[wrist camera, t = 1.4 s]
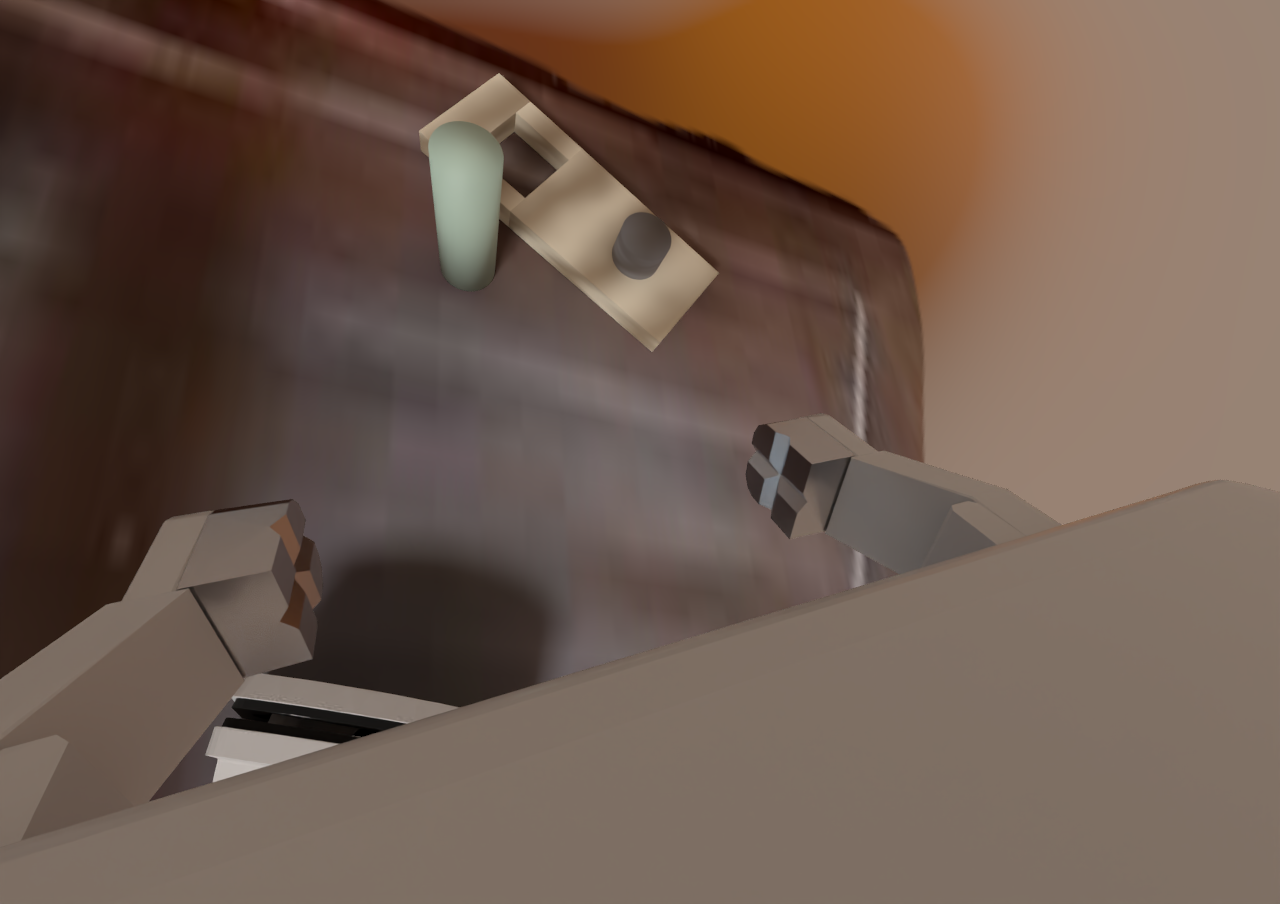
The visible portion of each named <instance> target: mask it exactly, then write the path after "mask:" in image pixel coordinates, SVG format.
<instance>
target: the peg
mask: <svg viewBox="0 0 1280 904" xmlns="http://www.w3.org/2000/svg"><path fill="white" fill-rule="evenodd" d="M428 150H429V160H430V170H431V179H432V189H433V199H434V208H435V218H436V228H437V237H438V247H439V257H440V266H441V271H442V274H443V276H444V278H445V279H446V280H447V281H448V282H449V283H450V284H451V285H452V286H454V287H456V288H458V289H460V290H464V291H478V290H481V289H483V288H485V287H487V286H488V285H489V284H490V283H491V281H492V280H493V278H494V275H495V264H496V251H497V239H498V226H499V213H500V201H501V188H502V175H503V162H504V156H503V151H502V148H501V146H500V144H499V142H498V141H497V140H496V138H495V137H494V136H493V135H492V134H491V133H490V132H488V131H487V130H486V129H484V128H482V127H480V126H479V125H476V124H473V123H470V122H465V121H453V122H448V123H445V124H443V125H441V126H439V127H438V128H437V129H435V130H434V132H433V133H432V135H431V136H430V139H429V143H428Z"/></svg>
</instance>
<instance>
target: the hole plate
mask: <svg viewBox="0 0 1280 904" xmlns="http://www.w3.org/2000/svg"><path fill="white" fill-rule="evenodd" d="M453 121H465V122H470V123H473V124H476V125H479V126H480V127H482V128H484V129H486V130H487V131H488V132H490V133H491V134H492V135H493V136H494V137H495V138H496V140H497V141H498V142H499V143H501V142H502V141H503V140H505V139H506V138H507V137H508V136H510V135H511V134H512V133H513V132H515V133H516V134H517V135H518V136H520V137H521V138H522V139H523V140H524V141H525V142H526V143H527V144H529V145H530V146H531V147H532V148H533V149H534V150H535V151H536V152H537V153H539V154H540V155H541V156H542V157H543V158H544V159H545V160H546V161H547V162H549V163H550V164H551V165H552V166H553V167H554V168H555V169H556V170H557V171H556V172H555V173H554V174H552V175H551V176H550V177H549V178H548V179H547V180H545V181H544V182H543V183H542V184H541V185H540V186H539V187H537V188H536V189H535V190H534V191H533V192H532V193H531V194H529V195H528V196H527V197H526V198H524V197H523V196H522V195H521V194H520V193H519V192H517V191H516V190H515V189H514V188H513V187H512V186H511V185H509V184H508V183H507V182H506V181H505V180H504V179H503V178H502V188H501V201H500V213H499V219H500V220H501V221H502V222H503V223H504V224H506V225H507V226H508V227H509V228H510V229H511V230H513V231H514V232H515V233H516V234H517V235H518V236H519V237H521V238H522V239H523V240H524V241H525V242H526V243H527V244H529V245H530V246H531V247H532V248H533V249H534V250H535V251H537V252H538V253H539V254H540V255H541V256H542V257H543V258H545V259H546V260H547V261H548V262H549V263H550V264H552V265H553V266H554V267H555V268H556V269H557V270H558V271H560V272H561V273H562V274H563V275H564V276H565V277H566V278H568V279H569V280H570V281H571V282H572V283H573V284H574V285H576V286H577V287H578V288H579V289H580V290H581V291H582V292H584V293H585V294H586V295H587V296H588V297H589V298H590V299H592V300H593V301H594V302H595V303H596V304H597V305H599V306H600V307H601V308H602V309H603V310H604V311H605V312H607V313H608V314H609V315H610V316H611V317H612V318H613V319H615V320H616V321H617V322H618V323H619V324H620V325H621V326H623V327H624V328H625V329H626V330H627V331H628V332H629V333H631V334H632V335H633V336H634V337H635V338H636V339H638V340H639V341H640V342H641V343H642V344H643V345H644V346H646V347H647V348H648V349H649V350H650V351H651V352H653V350H654V349H655V348H656V347H657V346H658V344H659V343H660V342H661V341H662V340H663V339H664V337H665V336H666V335H667V334H668V333H669V331H670V330H671V329H672V328H673V327H674V326H675V324H676V323H677V322H678V321H679V320H680V318H681V317H682V316H683V315H684V314H685V313H686V311H687V310H688V309H689V308H690V307H691V305H692V304H693V303H694V302H695V301H696V299H697V298H698V297H699V296H700V295H701V294H702V292H703V291H704V290H705V289H706V288H707V286H708V285H709V284H710V283H711V282H712V280H713V279H714V278H715V277H716V276H717V275H718V272H717V271H716V270H715V269H714V268H713V267H712V266H711V265H710V264H709V263H707V262H706V261H705V260H704V259H703V258H702V257H701V256H700V255H699V254H698V253H696V252H695V251H694V250H693V249H692V248H691V247H690V246H689V245H688V244H687V243H685V242H684V241H683V240H682V239H681V238H680V237H679V236H678V235H677V234H675V233H674V232H673V231H672V230H671V229H670V228H669V227H668V226H667V225H666V224H665V223H664V222H663V221H662V220H661V219H659V218H658V217H657V216H656V215H655V214H653V213H652V212H651V211H650V210H649V209H648V208H647V207H646V206H645V205H644V204H642V203H641V202H640V201H639V200H638V199H637V198H636V197H635V196H634V195H633V194H631V193H630V192H629V191H628V190H627V189H626V188H625V187H624V186H623V185H622V184H620V183H619V182H618V181H617V180H616V179H615V178H614V177H613V176H612V175H611V174H609V173H608V172H607V171H606V170H605V169H604V168H603V167H602V166H601V165H600V164H598V163H597V162H596V161H595V160H594V159H593V158H592V157H591V156H590V155H589V154H587V153H586V152H585V151H584V150H583V149H582V148H581V147H580V146H579V145H578V144H576V143H575V142H574V141H573V140H572V139H571V138H570V137H569V136H568V135H567V134H565V133H564V132H563V131H562V130H561V129H560V128H559V127H558V126H557V125H556V124H554V123H553V122H552V121H551V120H550V119H549V118H548V117H547V116H546V115H544V114H543V113H542V112H541V111H540V110H539V109H538V108H537V107H536V106H535V105H533V104H532V103H531V102H530V101H529V100H528V99H527V98H526V97H525V96H524V95H522V94H521V93H520V92H519V91H518V90H517V89H516V88H515V87H514V86H513V85H511V84H510V83H509V82H508V81H507V80H506V79H505V78H504V77H503V76H502V75H500V74H497V75H496V76H494V77H493V78H492V79H490V80H489V81H487V82H486V83H485V84H483V85H482V86H481V87H479V88H478V89H476V90H475V91H474V92H472V93H471V94H469V95H468V96H467V97H465V98H464V99H463V100H461V101H460V102H458V103H457V104H456V105H454V106H453V107H452V108H450V109H449V110H447V111H446V112H445V113H443V114H442V115H440V116H439V117H438V118H436V119H435V120H434V121H432V122H431V123H429V124H428V125H427V126H425V127H424V128H422V129H421V130H420V131H419V137H420V145H421V151H422V152H423V153H424V154H425V155H426V156H428V157H429V150H428V143H429V139H430V136H431V135H432V133H433V132H434V130H435V129H437V128H438V127H439V126H441V125H443V124H445V123H448V122H453Z"/></svg>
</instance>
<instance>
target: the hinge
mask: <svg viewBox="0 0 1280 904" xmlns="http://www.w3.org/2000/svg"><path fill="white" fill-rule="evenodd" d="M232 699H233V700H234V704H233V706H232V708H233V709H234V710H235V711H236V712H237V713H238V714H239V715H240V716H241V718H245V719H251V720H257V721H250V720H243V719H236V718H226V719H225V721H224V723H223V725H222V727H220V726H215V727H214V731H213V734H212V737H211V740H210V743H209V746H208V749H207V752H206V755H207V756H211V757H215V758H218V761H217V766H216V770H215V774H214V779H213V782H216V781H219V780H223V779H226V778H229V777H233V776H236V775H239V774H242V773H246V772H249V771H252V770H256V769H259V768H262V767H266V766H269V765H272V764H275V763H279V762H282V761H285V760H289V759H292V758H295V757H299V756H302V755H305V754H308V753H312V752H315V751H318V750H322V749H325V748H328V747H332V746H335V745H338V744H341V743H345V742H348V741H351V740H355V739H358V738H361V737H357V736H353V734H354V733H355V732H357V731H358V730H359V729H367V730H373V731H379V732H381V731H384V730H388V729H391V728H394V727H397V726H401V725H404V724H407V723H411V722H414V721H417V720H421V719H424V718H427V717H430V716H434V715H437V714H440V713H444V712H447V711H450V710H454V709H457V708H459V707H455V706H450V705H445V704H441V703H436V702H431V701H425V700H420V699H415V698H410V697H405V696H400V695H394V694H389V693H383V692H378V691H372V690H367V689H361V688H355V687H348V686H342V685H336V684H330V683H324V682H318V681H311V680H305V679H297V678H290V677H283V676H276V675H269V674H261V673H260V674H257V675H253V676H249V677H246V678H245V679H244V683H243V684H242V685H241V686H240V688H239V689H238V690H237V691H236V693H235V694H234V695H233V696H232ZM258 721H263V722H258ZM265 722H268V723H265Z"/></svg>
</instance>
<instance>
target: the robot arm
mask: <svg viewBox="0 0 1280 904" xmlns="http://www.w3.org/2000/svg"><path fill="white" fill-rule="evenodd" d="M752 444H753V446H754V448H755V450H756V452H755V453H754V454H753V456H752V457H751V458H750V459H749V461H748V464H747V470H746V480H747V486H748V489H749V491H750V493H751V495H752V497H753V498H754V499H755V500H756V502H757V503H758V504H760V505H762V506H764V507H766V508H769V509H771V519H772V520H773V521H774V522H775V523H776V524H777V525H778V527H779V528H780V529H781V530H782V531H783V532H784V533H785V534H786V536H787V537H788V538H789V539H793V538H798V537H803V536H807V535H812V534H816V533H821V532H825V531H826V533H825V534H827V535H829V536H831V537H833V538H835V539H836V540H838V541H840V542H842V543H844V544H845V545H847V546H849V547H851V548H853V549H854V550H856V551H858V552H860V553H862V554H864V555H865V556H867V557H869V558H871V559H873V560H874V561H876V562H878V563H880V564H882V565H884V566H885V567H887V568H889V569H891V570H893V571H894V572H896V573H898V574H899V575H896V576H892V577H889V578H886V579H883V580H879V581H876V582H873V583H869V584H866V585H863V586H859V587H856V588H853V589H850V590H846V591H843V592H840V593H836V594H833V595H830V596H826V597H823V598H820V599H816V600H813V601H810V602H807V603H803V604H800V605H797V606H793V607H790V608H787V609H783V610H780V611H777V612H773V613H770V614H767V615H764V616H760V617H757V618H754V619H750V620H747V621H744V622H740V623H737V624H734V625H731V626H727V627H724V628H721V629H717V630H714V631H711V632H707V633H704V634H701V635H698V636H694V637H691V638H688V639H684V640H681V641H678V642H674V643H671V644H668V645H665V646H661V647H658V648H655V649H651V650H648V651H645V652H642V653H638V654H635V655H632V656H628V657H625V658H622V659H618V660H615V661H612V662H609V663H605V664H602V665H599V666H595V667H592V668H589V669H585V670H582V671H579V672H576V673H572V674H569V675H566V676H562V677H559V678H556V679H552V680H549V681H546V682H543V683H539V684H536V685H533V686H529V687H526V688H523V689H520V690H516V691H513V692H510V693H506V694H503V695H500V696H496V697H493V698H490V699H487V700H483V701H480V702H477V703H473V704H470V705H467V706H463V707H460V708H457V709H454V710H450V711H447V712H444V713H440V714H437V715H434V716H430V717H427V718H424V719H421V720H417V721H414V722H411V723H407V724H404V725H401V726H397V727H394V728H391V729H388V730H384V731H381V732H378V733H374V734H371V735H368V736H365V737H361V738H358V739H355V740H351V741H348V742H345V743H341V744H338V745H335V746H332V747H328V748H325V749H322V750H318V751H315V752H312V753H308V754H305V755H302V756H299V757H295V758H292V759H289V760H285V761H282V762H279V763H275V764H272V765H269V766H266V767H262V768H259V769H256V770H252V771H249V772H246V773H242V774H239V775H236V776H233V777H229V778H226V779H223V780H219V781H216V782H213V783H210V784H206V785H203V786H200V787H196V788H193V789H190V790H186V791H183V792H180V793H177V794H173V795H170V796H167V797H163V798H160V799H157V800H153V801H150V802H148V801H149V800H150V799H151V798H152V796H153V795H154V794H155V793H156V791H157V790H158V789H159V788H160V786H161V785H162V784H163V783H164V781H165V780H166V779H167V778H168V776H169V775H170V774H171V773H172V771H173V770H174V769H175V768H176V766H177V765H178V764H179V763H180V761H181V760H182V759H183V758H184V756H185V755H186V754H187V753H188V751H189V750H190V749H191V748H192V746H193V745H194V744H195V743H196V741H197V740H198V739H199V738H200V736H201V735H202V734H203V733H204V731H205V730H206V729H207V728H208V726H209V725H210V724H211V723H212V721H213V720H214V719H215V718H216V716H217V715H218V714H219V713H220V711H221V710H222V709H223V708H224V706H225V705H226V704H227V703H228V701H229V700H230V699H231V698H232V696H233V695H234V694H235V693H236V691H237V690H238V689H239V688H240V686H241V685H242V684H243V683H244V679H243V678H246V677H249V676H253V675H257V674H260V673H264V672H267V671H271V670H275V669H278V668H282V667H286V666H289V665H293V664H297V663H300V662H304V661H307V660H311V659H313V654H314V647H315V640H316V634H317V627H318V621H317V619H316V617H315V614H314V612H313V608H314V607H315V606H316V605H317V604H318V603H319V602H320V601H321V598H322V590H323V577H322V566H321V562H320V557H319V553H318V550H317V548H316V545H315V542H314V541H312V540H310V539H308V538H307V537H305V536H303V533H304V528H305V522H306V519H305V517H304V515H303V512H302V510H301V508H300V505H299V503H297V502H296V501H295V500H294V499H290V500H283V501H276V502H269V503H262V504H255V505H248V506H241V507H234V508H227V509H220V510H215V511H206V512H200V513H194V514H187V515H181V516H175V517H172V518H170V519H168V520H166V521H165V522H164V523H163V525H162V527H161V529H160V530H159V532H158V534H157V536H156V538H155V540H154V542H153V544H152V545H151V547H150V549H149V551H148V553H147V555H146V557H145V558H144V560H143V562H142V564H141V566H140V568H139V570H138V572H137V573H136V575H135V577H134V579H133V581H132V583H131V585H130V586H129V588H128V590H127V592H126V594H125V596H124V598H123V600H122V601H121V602H117V603H112V604H107V605H105V606H104V607H103V608H101V609H100V610H98V611H97V612H95V613H94V614H93V615H91V616H90V617H88V618H87V619H86V620H84V621H83V622H81V623H80V624H78V625H77V626H76V627H74V628H73V629H71V630H70V631H68V632H67V633H66V634H64V635H63V636H61V637H60V638H59V639H57V640H56V641H54V642H53V643H51V644H50V645H49V646H47V647H46V648H44V649H43V650H41V651H40V652H39V653H37V654H36V655H34V656H33V657H32V658H30V659H29V660H27V661H26V662H24V663H23V664H22V665H20V666H19V667H17V668H16V669H15V670H13V671H12V672H10V673H9V674H7V675H6V676H5V677H3V678H2V679H0V904H1280V492H1278V491H1274V490H1270V489H1266V488H1261V487H1257V486H1254V485H1250V484H1246V483H1240V482H1235V481H1229V480H1214V481H1207V482H1203V483H1198V484H1195V485H1192V486H1188V487H1185V488H1182V489H1179V490H1176V491H1173V492H1170V493H1166V494H1163V495H1160V496H1156V497H1153V498H1150V499H1146V500H1143V501H1140V502H1137V503H1133V504H1130V505H1127V506H1123V507H1120V508H1117V509H1113V510H1110V511H1107V512H1104V513H1101V514H1097V515H1094V516H1091V517H1087V518H1084V519H1081V520H1077V521H1074V522H1071V523H1067V524H1064V525H1061V524H1060V523H1058V522H1057V521H1055V520H1054V519H1052V518H1051V517H1049V516H1048V515H1046V514H1045V513H1043V512H1042V511H1040V510H1038V509H1037V508H1035V507H1034V506H1032V505H1031V504H1029V503H1027V502H1026V501H1025V500H1023V499H1021V498H1020V497H1019V496H1017V495H1016V494H1014V493H1013V492H1011V491H1009V490H1008V489H1005V488H1002V487H998V486H995V485H992V484H989V483H985V482H982V481H979V480H976V479H973V478H969V477H966V476H963V475H960V474H957V473H953V472H950V471H947V470H944V469H941V468H937V467H934V466H931V465H928V464H925V463H922V462H918V461H915V460H912V459H909V458H906V457H902V456H899V455H896V454H893V453H890V452H886V451H880V452H878V451H876V450H875V449H874V448H872V447H871V446H870V445H868V444H867V443H866V442H864V441H863V440H862V439H860V438H859V437H858V436H856V435H855V434H854V433H852V432H851V431H850V430H848V429H847V428H845V427H844V426H843V425H841V424H840V423H839V422H837V421H836V420H835V419H833V418H832V417H831V416H829V415H826V414H822V413H820V414H815V415H810V416H805V417H801V418H798V419H792V420H786V421H780V422H775V423H769V424H763V425H759V426H758V427H757V429H756V430H755V432H754V435H753V440H752Z"/></svg>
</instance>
